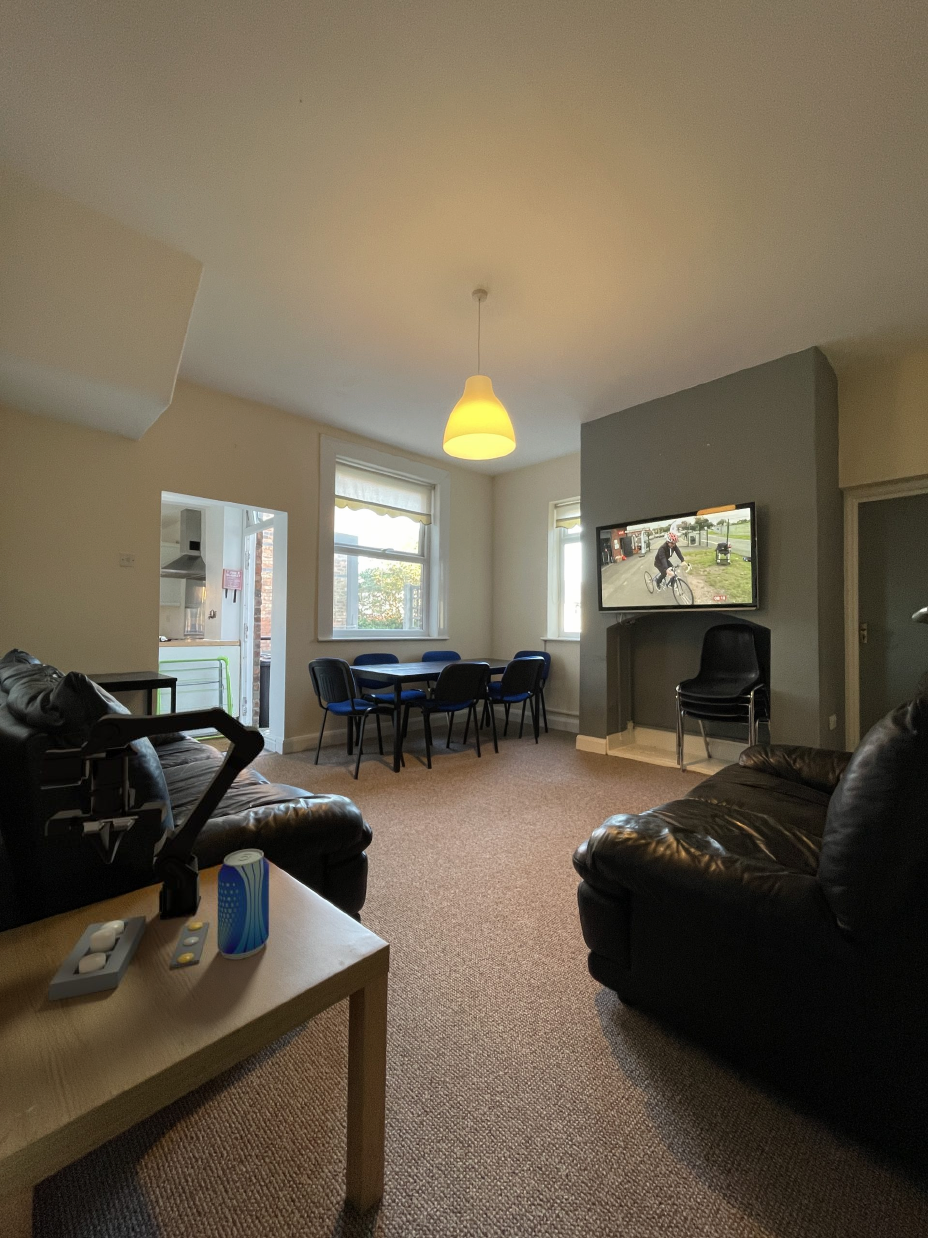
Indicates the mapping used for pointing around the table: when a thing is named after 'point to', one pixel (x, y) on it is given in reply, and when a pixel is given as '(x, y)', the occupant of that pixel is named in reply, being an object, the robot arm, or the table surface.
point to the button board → (115, 967)
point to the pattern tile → (190, 944)
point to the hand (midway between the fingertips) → (109, 862)
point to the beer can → (243, 904)
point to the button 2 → (115, 927)
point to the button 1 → (92, 962)
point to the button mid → (102, 941)
